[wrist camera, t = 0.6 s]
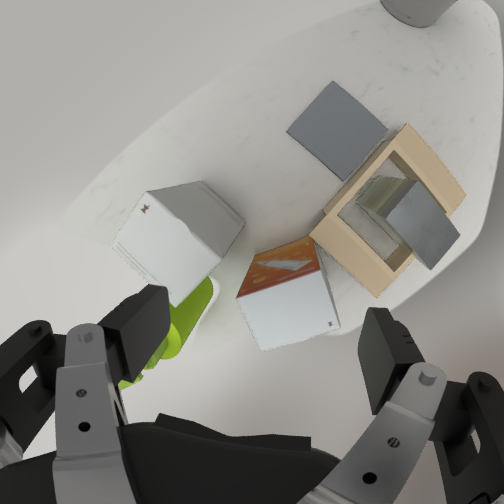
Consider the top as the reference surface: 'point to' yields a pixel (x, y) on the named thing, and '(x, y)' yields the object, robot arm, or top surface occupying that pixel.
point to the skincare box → (177, 237)
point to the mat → (337, 130)
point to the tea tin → (410, 217)
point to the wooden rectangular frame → (332, 226)
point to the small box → (287, 296)
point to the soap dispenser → (179, 325)
